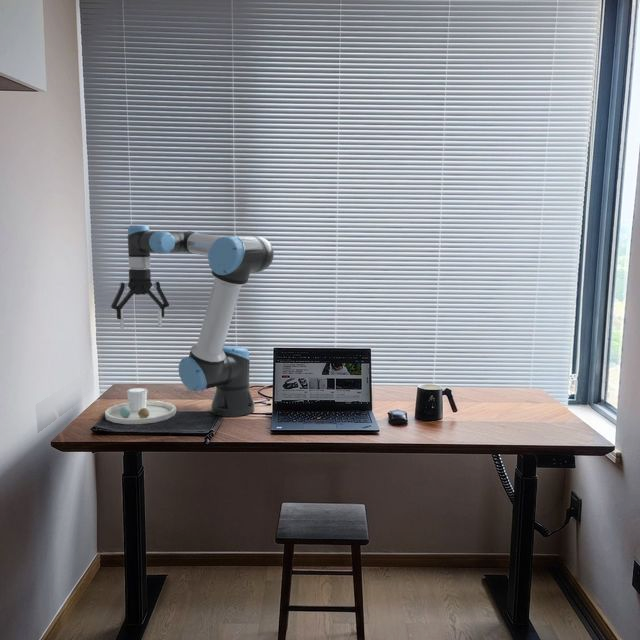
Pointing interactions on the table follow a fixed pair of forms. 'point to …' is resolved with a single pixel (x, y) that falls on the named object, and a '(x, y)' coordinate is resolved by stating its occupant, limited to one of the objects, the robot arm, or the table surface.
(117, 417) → the ring tray
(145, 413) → the bead honey
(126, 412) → the bead teal
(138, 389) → the shot glass
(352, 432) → the table surface
